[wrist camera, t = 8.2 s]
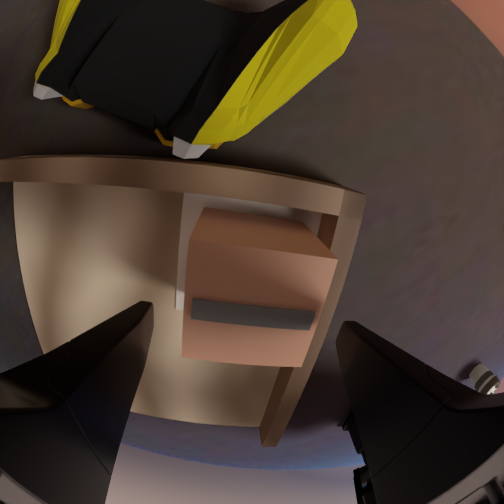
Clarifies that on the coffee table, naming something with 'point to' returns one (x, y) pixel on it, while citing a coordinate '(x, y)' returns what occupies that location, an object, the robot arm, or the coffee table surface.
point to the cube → (253, 289)
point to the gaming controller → (190, 62)
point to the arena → (164, 267)
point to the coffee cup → (484, 380)
